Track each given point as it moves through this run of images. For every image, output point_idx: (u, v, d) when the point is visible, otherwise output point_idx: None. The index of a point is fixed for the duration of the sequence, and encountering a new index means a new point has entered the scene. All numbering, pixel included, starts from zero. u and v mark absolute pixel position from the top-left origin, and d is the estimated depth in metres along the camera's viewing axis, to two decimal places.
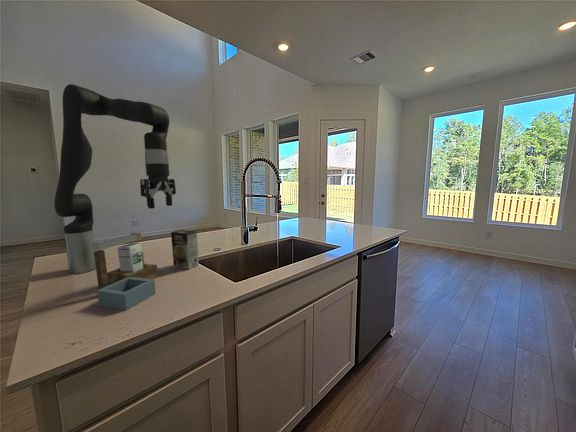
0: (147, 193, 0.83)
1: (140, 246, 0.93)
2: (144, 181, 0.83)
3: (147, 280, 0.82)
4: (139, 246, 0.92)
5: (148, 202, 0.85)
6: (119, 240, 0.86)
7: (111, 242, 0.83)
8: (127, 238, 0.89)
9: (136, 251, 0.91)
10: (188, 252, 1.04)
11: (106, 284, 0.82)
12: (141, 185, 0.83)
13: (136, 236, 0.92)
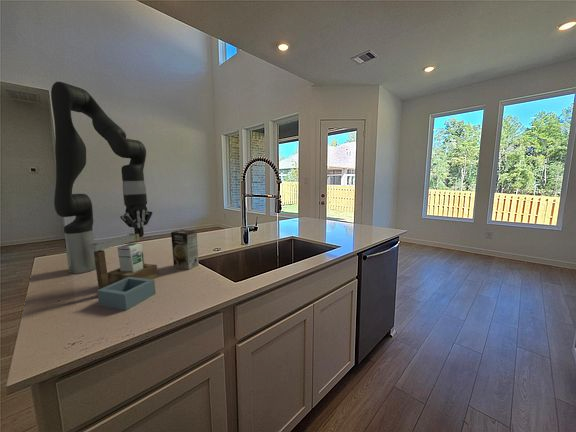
0: (134, 224, 0.92)
1: (140, 246, 0.93)
2: (125, 218, 0.88)
3: (147, 280, 0.82)
4: (139, 246, 0.92)
5: (135, 232, 0.94)
6: (117, 241, 0.85)
7: (108, 243, 0.82)
8: (125, 239, 0.88)
9: (136, 251, 0.91)
10: (188, 252, 1.04)
11: (106, 284, 0.82)
12: (124, 221, 0.90)
13: (134, 237, 0.91)
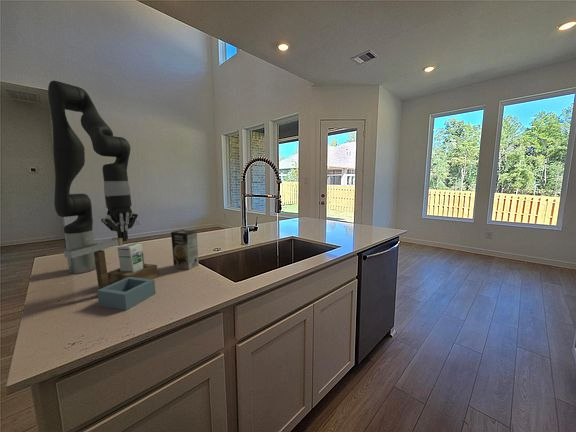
0: (117, 228, 0.85)
1: (140, 246, 0.93)
2: (106, 222, 0.82)
3: (147, 280, 0.82)
4: (139, 246, 0.92)
5: (119, 236, 0.87)
6: (96, 246, 0.78)
7: (87, 248, 0.75)
8: (106, 244, 0.81)
9: (136, 251, 0.91)
10: (188, 252, 1.04)
11: (106, 284, 0.82)
12: (106, 224, 0.83)
13: (117, 241, 0.85)
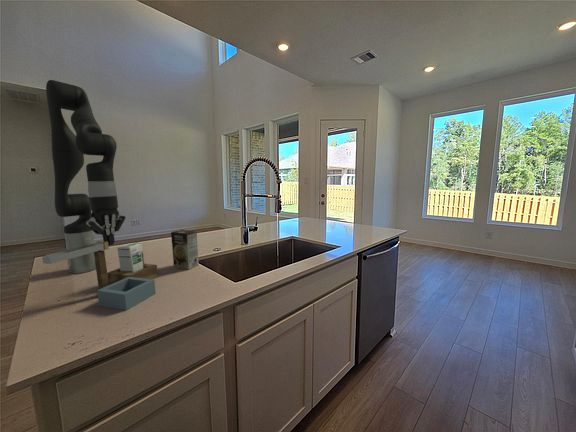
0: (102, 231, 0.80)
1: (140, 246, 0.93)
2: (89, 224, 0.77)
3: (147, 280, 0.82)
4: (139, 246, 0.92)
5: (104, 239, 0.82)
6: (79, 251, 0.73)
7: (68, 253, 0.70)
8: (90, 248, 0.76)
9: (136, 251, 0.91)
10: (188, 252, 1.04)
11: (106, 284, 0.82)
12: (90, 227, 0.78)
13: (102, 245, 0.80)
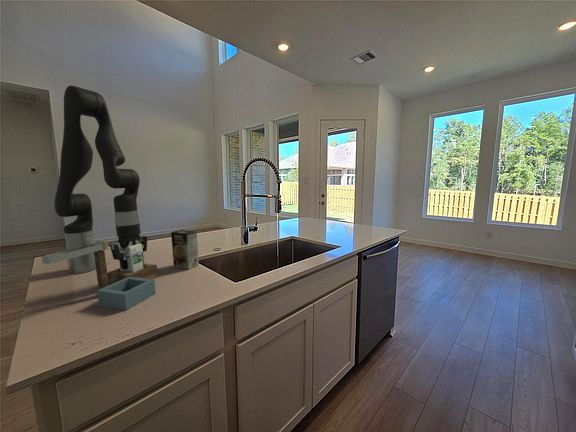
0: (119, 257, 0.86)
1: (140, 246, 0.93)
2: (114, 247, 0.85)
3: (147, 280, 0.82)
4: (139, 246, 0.92)
5: (121, 264, 0.88)
6: (78, 251, 0.73)
7: (67, 253, 0.70)
8: (89, 248, 0.76)
9: (136, 251, 0.91)
10: (188, 252, 1.04)
11: (106, 284, 0.82)
12: (112, 250, 0.85)
13: (101, 245, 0.80)
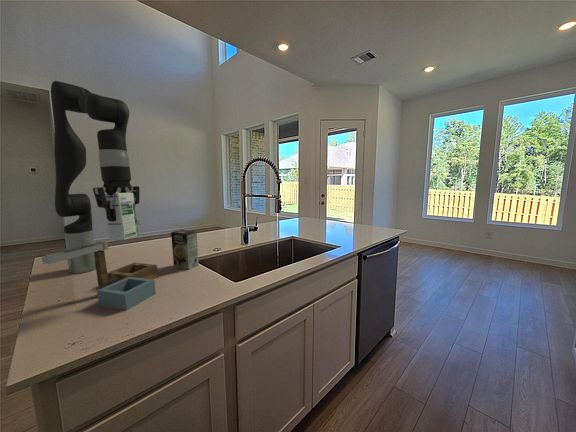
0: (105, 203, 0.71)
1: (131, 195, 0.77)
2: (98, 190, 0.69)
3: (147, 280, 0.82)
4: (130, 195, 0.77)
5: (108, 214, 0.73)
6: (78, 251, 0.73)
7: (67, 253, 0.70)
8: (89, 248, 0.76)
9: (126, 200, 0.76)
10: (188, 252, 1.04)
11: (106, 284, 0.82)
12: (95, 195, 0.70)
13: (101, 245, 0.80)
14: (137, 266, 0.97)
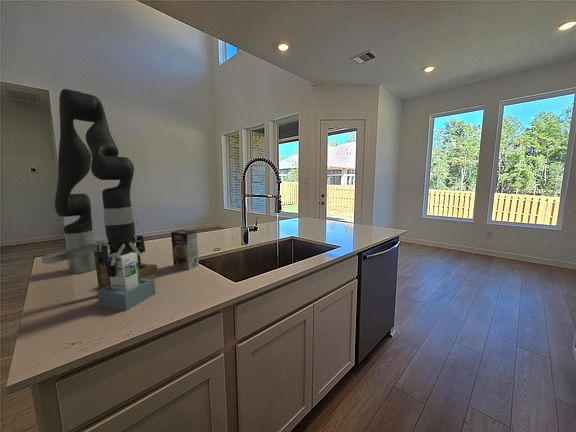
0: (105, 262, 0.70)
1: (134, 255, 0.78)
2: (101, 248, 0.70)
3: (147, 280, 0.82)
4: (133, 255, 0.78)
5: (108, 270, 0.72)
6: (78, 251, 0.73)
7: (67, 253, 0.70)
8: (89, 248, 0.76)
9: (130, 261, 0.76)
10: (188, 252, 1.04)
11: (106, 284, 0.82)
12: (98, 252, 0.70)
13: None
14: None
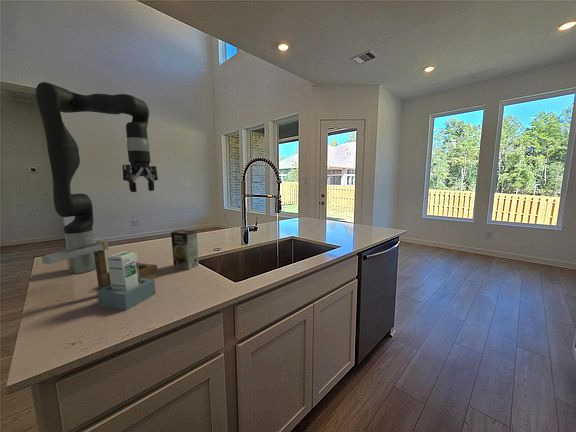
0: (129, 177, 0.91)
1: (134, 255, 0.78)
2: (126, 166, 0.90)
3: (147, 280, 0.82)
4: (133, 255, 0.78)
5: (130, 186, 0.93)
6: (78, 251, 0.73)
7: (67, 253, 0.70)
8: (89, 248, 0.76)
9: (130, 261, 0.76)
10: (188, 252, 1.04)
11: (106, 284, 0.82)
12: (123, 170, 0.91)
13: (101, 245, 0.80)
14: None
